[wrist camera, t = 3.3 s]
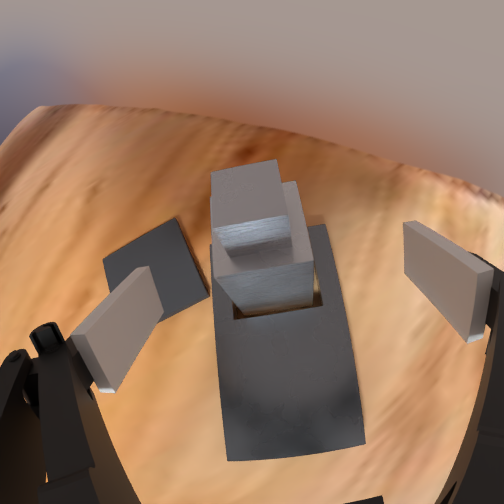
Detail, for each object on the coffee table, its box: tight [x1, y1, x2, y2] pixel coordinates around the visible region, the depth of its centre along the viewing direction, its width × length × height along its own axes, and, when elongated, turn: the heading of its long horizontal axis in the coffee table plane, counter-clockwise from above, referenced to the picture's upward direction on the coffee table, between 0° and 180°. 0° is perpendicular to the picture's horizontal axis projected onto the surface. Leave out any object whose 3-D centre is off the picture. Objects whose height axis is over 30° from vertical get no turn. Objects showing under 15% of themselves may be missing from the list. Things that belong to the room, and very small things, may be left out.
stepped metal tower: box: [210, 159, 314, 316], centre depth 18 cm, size 5×5×11 cm
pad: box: [103, 218, 210, 323], centre depth 25 cm, size 8×8×1 cm
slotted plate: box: [210, 224, 366, 461], centre depth 20 cm, size 16×9×1 cm, turn 6°
